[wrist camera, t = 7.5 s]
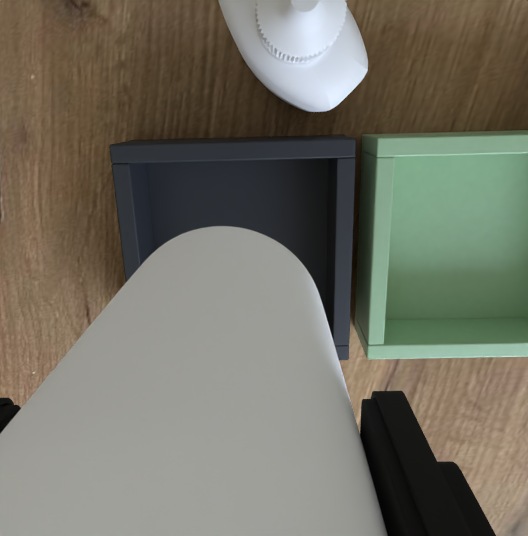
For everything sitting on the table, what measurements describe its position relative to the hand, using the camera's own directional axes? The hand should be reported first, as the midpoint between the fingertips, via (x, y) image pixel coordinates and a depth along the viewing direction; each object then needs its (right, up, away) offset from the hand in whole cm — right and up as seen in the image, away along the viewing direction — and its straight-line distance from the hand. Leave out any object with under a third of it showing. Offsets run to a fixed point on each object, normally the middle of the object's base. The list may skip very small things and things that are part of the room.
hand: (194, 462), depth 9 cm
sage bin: (+12, +5, +16) cm, 20 cm away
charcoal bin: (0, +5, +16) cm, 17 cm away
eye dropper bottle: (+2, +14, +13) cm, 19 cm away
